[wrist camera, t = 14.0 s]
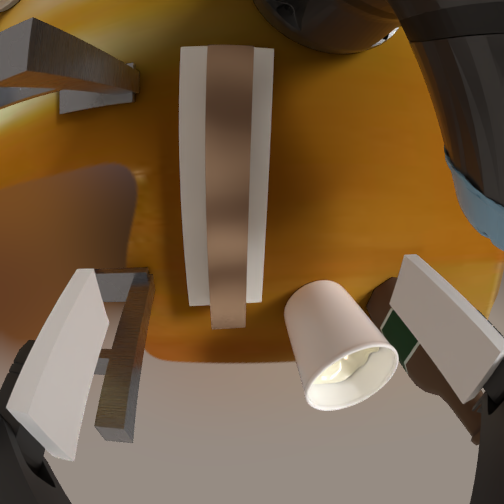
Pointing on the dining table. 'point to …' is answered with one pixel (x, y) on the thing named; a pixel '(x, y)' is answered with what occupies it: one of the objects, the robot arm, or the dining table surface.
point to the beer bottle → (419, 358)
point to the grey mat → (194, 170)
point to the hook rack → (109, 280)
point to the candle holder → (336, 347)
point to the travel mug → (7, 4)
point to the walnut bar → (228, 179)
